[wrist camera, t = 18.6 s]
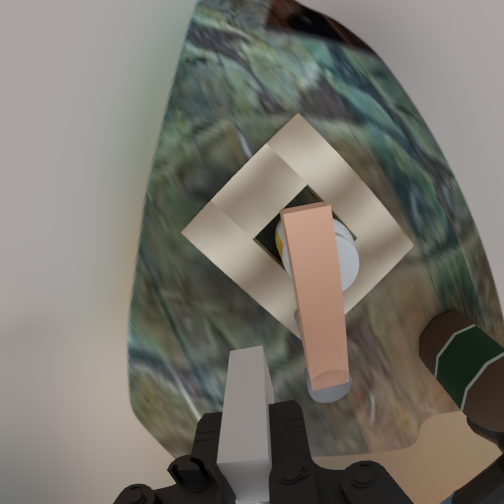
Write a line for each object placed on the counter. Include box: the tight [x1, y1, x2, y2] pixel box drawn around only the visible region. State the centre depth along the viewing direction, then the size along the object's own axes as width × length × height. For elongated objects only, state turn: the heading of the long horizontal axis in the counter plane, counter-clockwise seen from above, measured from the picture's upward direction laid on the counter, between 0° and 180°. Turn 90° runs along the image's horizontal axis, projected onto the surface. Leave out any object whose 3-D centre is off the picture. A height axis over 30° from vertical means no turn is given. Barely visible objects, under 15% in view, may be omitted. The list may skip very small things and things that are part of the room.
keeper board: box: [181, 113, 414, 343], centre depth 23 cm, size 16×14×10 cm
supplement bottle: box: [275, 218, 359, 292], centre depth 23 cm, size 5×5×10 cm
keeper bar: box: [280, 202, 352, 403], centre depth 17 cm, size 12×3×2 cm, turn 12°
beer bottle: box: [420, 310, 504, 433], centre depth 20 cm, size 8×8×24 cm
